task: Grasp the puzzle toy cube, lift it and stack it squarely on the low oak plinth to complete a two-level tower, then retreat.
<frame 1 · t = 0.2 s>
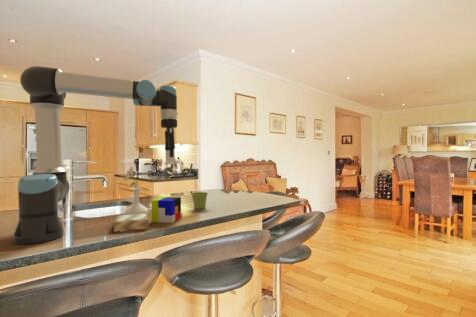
hand: (170, 164, 130), 26 cm above the counter, fingers open, 13 cm apart
flower in vase: (135, 216, 138), on the counter
plinth: (132, 226, 117), on the counter
plant pot: (199, 208, 155), on the counter
puzzle toy: (166, 220, 128), on the counter
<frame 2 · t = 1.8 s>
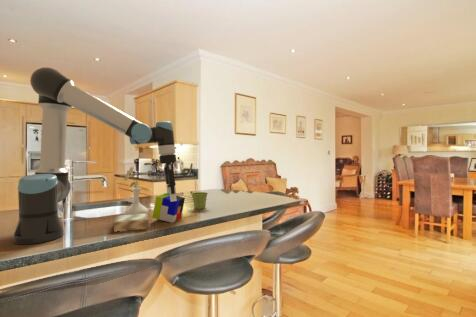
hand: (172, 199, 128), 9 cm above the counter, fingers open, 13 cm apart
puzzle toy: (167, 218, 129), point 1 cm above the counter, touching gripper
everything else where it was.
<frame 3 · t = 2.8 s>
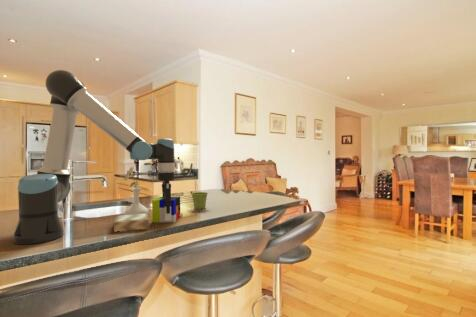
hand: (166, 217, 128), 1 cm above the counter, fingers closed on puzzle toy, 12 cm apart
puzzle toy: (166, 220, 128), on the counter, touching gripper
everything else where it was.
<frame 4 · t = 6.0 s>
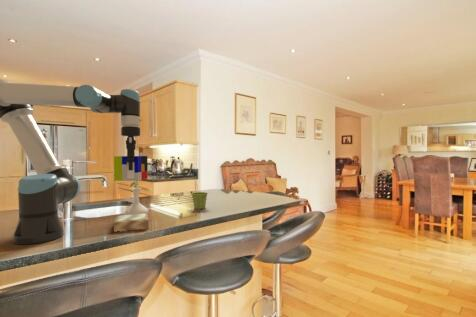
hand: (131, 177, 117), 21 cm above the counter, fingers closed on puzzle toy, 12 cm apart
puzzle toy: (131, 180, 117), point 20 cm above the counter, touching gripper
everything else where it was.
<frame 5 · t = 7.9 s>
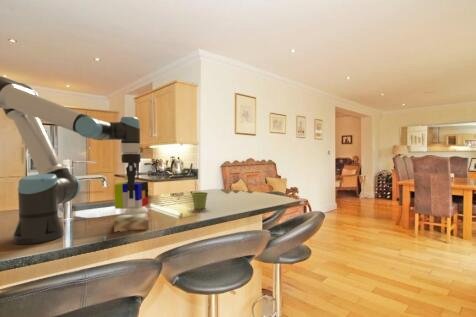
hand: (132, 203, 117), 10 cm above the counter, fingers closed on puzzle toy, 12 cm apart
puzzle toy: (132, 206, 117), point 8 cm above the counter, touching gripper
everything else where it was.
when the fingers open (6 cm above the counter, at t = 9.3 s): puzzle toy drops 1 cm, resting on plinth.
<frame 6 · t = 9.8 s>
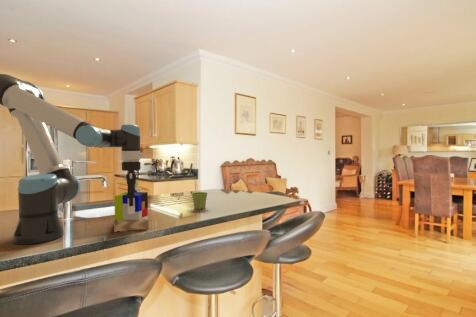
hand: (131, 210, 117), 7 cm above the counter, fingers open, 13 cm apart
puzzle toy: (132, 217, 117), point 4 cm above the counter, touching plinth
everything else where it was.
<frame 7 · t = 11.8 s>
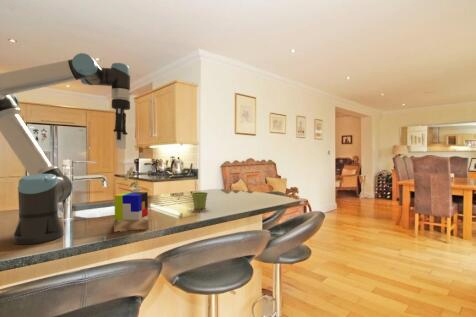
hand: (121, 148, 120), 34 cm above the counter, fingers open, 13 cm apart
nothing on the counter moved.
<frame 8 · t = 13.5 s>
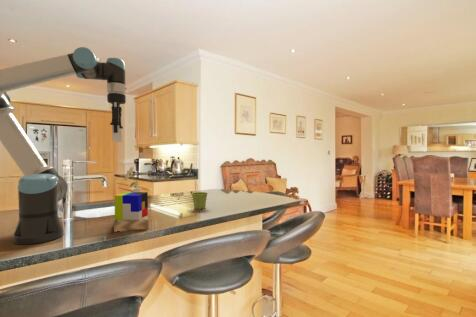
hand: (117, 141, 123), 37 cm above the counter, fingers open, 13 cm apart
nothing on the counter moved.
at the end: puzzle toy inside the target area on the plinth (0.0 cm from its centre), point 3.8 cm above the plinth's base; puzzle toy tilted 0°; the gripper is holding nothing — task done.
